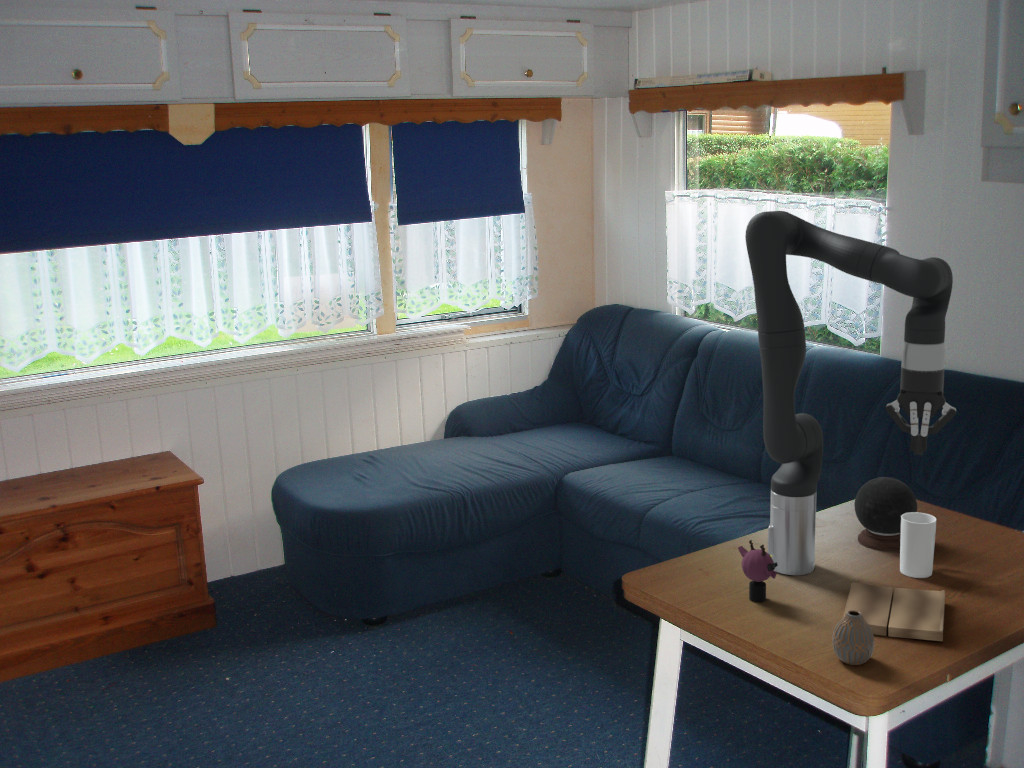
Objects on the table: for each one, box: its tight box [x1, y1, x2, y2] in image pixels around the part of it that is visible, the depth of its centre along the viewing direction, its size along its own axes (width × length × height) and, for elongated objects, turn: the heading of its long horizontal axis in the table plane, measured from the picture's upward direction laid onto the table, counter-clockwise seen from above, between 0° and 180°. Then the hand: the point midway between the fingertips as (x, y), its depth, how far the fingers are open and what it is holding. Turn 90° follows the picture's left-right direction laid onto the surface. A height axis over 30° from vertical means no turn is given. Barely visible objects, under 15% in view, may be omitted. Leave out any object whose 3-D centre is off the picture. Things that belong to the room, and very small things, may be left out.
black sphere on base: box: [854, 476, 918, 552], centre depth 222 cm, size 13×13×15 cm
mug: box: [899, 511, 937, 579], centre depth 206 cm, size 10×7×12 cm, turn 132°
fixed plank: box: [842, 582, 894, 637], centre depth 189 cm, size 8×18×2 cm, turn 156°
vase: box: [831, 610, 875, 666], centre depth 171 cm, size 7×7×9 cm
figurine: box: [737, 539, 778, 603], centre depth 196 cm, size 8×8×12 cm
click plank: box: [887, 587, 946, 642], centre depth 186 cm, size 9×18×2 cm, turn 156°
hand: (918, 453), depth 190 cm, fingers closed
